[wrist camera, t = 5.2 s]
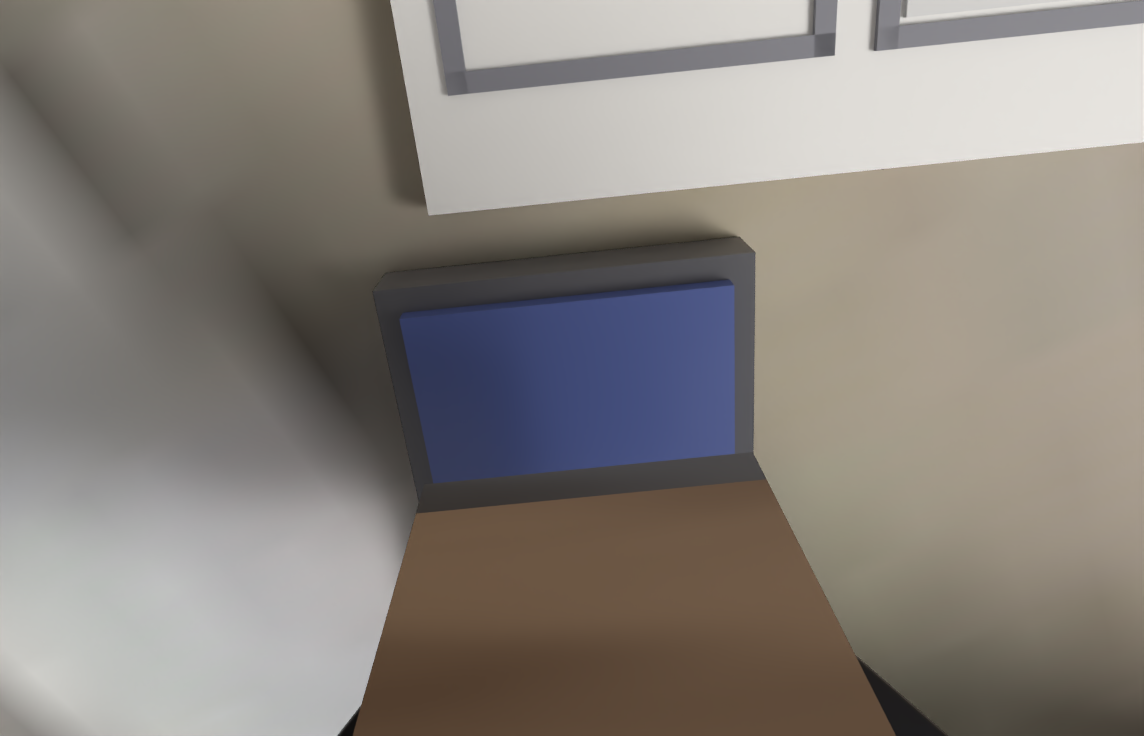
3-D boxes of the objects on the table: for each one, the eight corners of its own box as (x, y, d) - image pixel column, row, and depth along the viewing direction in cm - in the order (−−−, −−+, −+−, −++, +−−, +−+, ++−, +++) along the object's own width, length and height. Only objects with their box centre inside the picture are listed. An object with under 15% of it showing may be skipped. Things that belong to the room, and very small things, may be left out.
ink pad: (739, 566, 15) (756, 611, 14) (453, 595, 15) (445, 642, 14) (739, 237, 12) (760, 257, 11) (385, 272, 12) (368, 297, 11)
